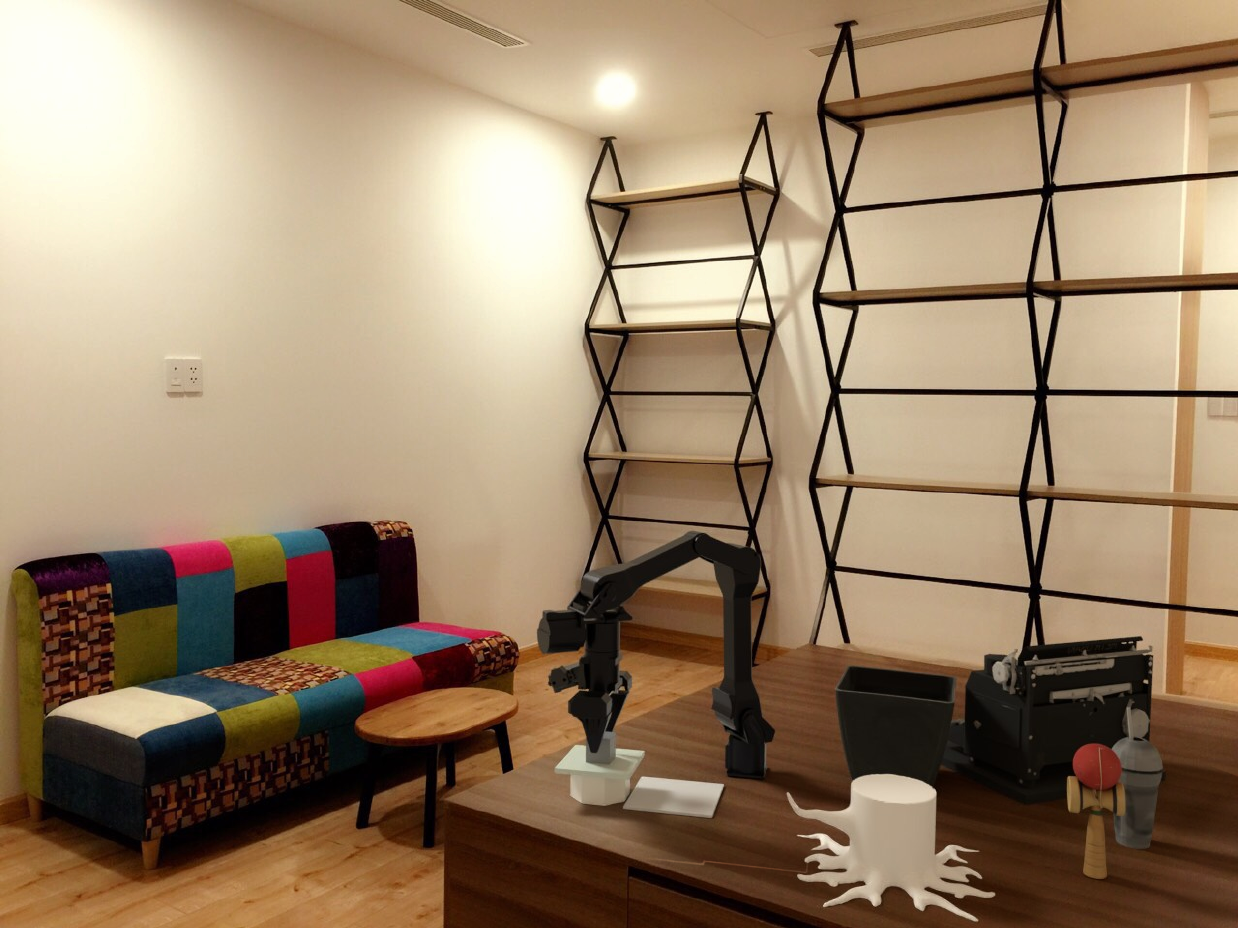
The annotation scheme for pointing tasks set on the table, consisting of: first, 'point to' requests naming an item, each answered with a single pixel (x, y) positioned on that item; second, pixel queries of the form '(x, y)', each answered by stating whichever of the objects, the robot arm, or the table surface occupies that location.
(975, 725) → the typewriter
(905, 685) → the flower pot
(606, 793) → the bowl
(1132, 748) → the beverage cup
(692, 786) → the mat
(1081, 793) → the kendama
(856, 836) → the tree stump
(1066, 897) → the table surface
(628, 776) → the cover sheet
